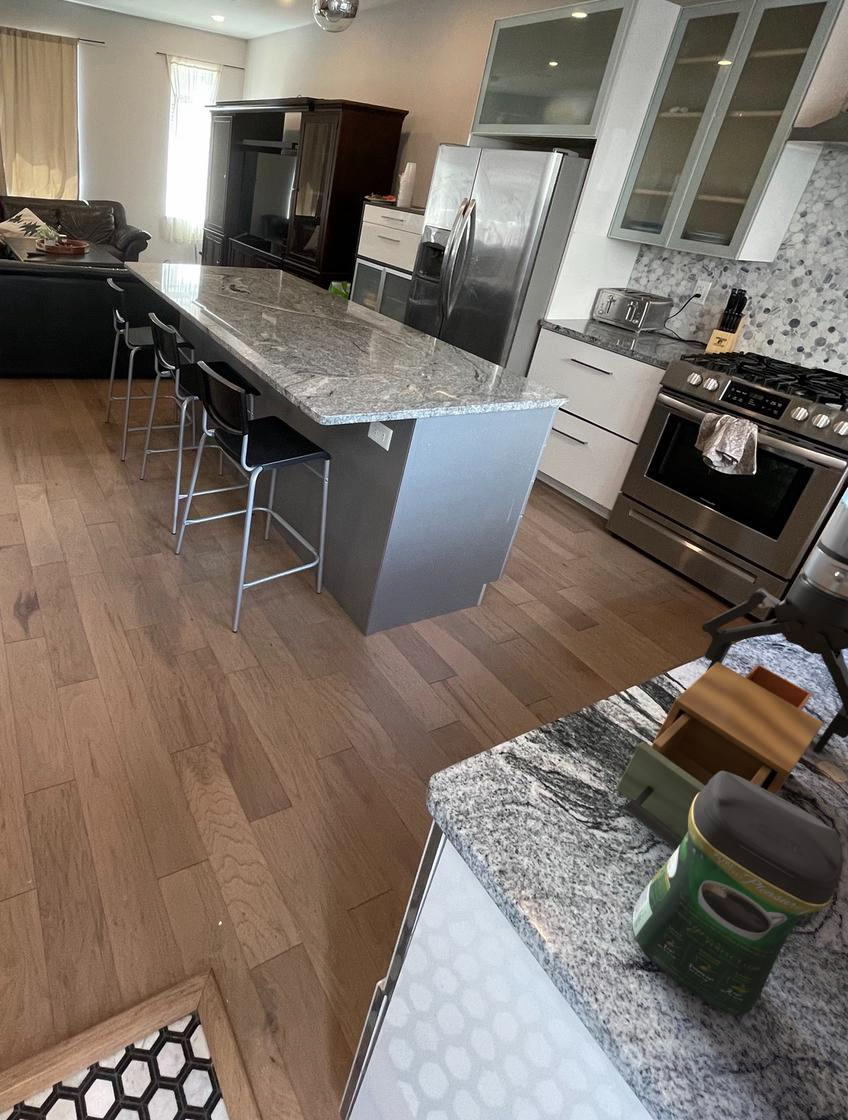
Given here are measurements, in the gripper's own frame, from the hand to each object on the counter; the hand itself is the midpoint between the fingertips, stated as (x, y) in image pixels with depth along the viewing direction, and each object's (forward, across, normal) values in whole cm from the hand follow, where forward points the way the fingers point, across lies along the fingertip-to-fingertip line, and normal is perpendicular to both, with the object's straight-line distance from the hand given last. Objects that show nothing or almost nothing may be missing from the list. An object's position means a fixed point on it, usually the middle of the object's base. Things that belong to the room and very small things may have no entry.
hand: (759, 711), depth 88 cm
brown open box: (0, 0, 0) cm, 0 cm away
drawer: (-1, 0, -30) cm, 30 cm away
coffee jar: (0, +7, -44) cm, 45 cm away
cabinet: (0, 0, -16) cm, 16 cm away
